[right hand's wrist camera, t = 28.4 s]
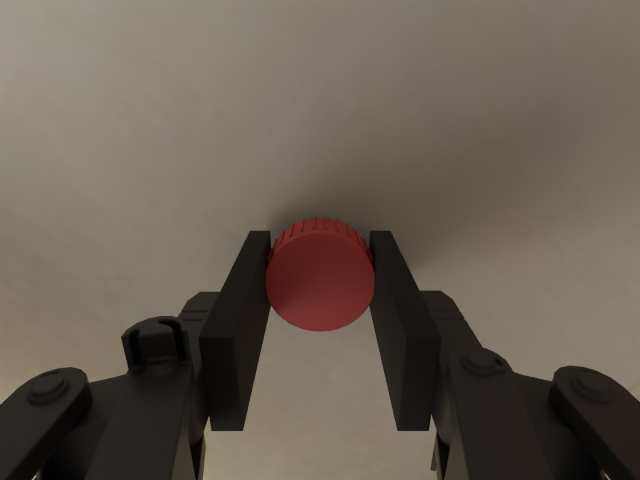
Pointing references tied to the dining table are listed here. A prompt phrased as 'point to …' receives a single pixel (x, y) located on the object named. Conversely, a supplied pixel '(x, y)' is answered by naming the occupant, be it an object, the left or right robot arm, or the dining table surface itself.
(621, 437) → the right robot arm
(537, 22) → the dining table surface
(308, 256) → the cap
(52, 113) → the dining table surface
